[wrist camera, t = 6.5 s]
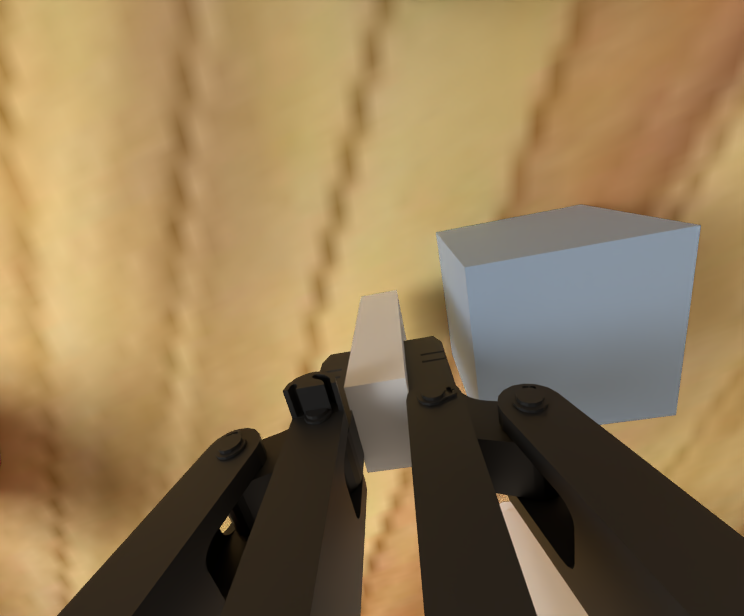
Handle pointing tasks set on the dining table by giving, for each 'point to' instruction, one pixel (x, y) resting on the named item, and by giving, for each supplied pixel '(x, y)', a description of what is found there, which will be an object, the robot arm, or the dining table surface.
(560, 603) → the foam cup
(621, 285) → the slate-blue block
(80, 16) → the dining table surface
